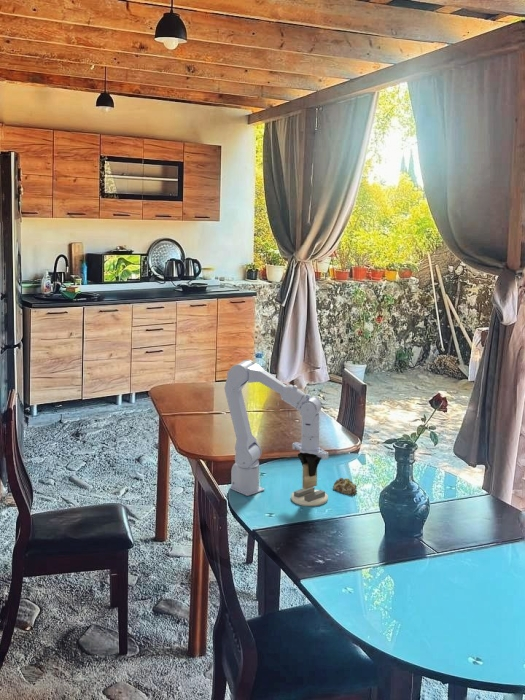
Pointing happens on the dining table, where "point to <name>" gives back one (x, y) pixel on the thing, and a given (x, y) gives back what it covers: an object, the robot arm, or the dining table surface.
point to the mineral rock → (345, 486)
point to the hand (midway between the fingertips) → (309, 474)
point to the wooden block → (308, 478)
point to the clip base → (313, 503)
